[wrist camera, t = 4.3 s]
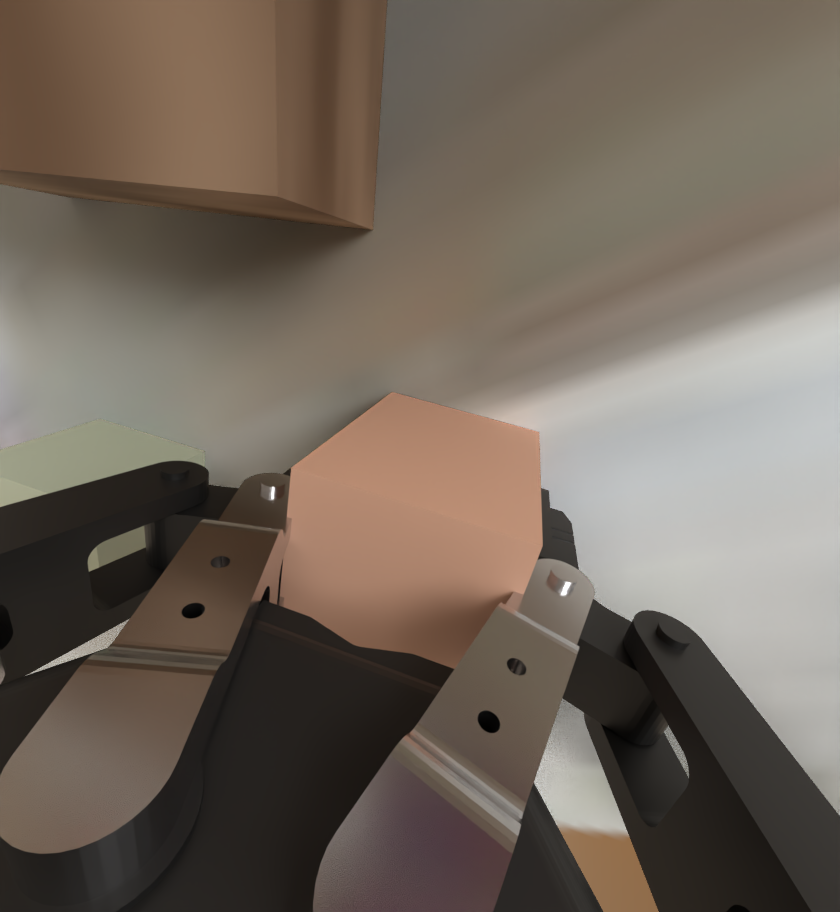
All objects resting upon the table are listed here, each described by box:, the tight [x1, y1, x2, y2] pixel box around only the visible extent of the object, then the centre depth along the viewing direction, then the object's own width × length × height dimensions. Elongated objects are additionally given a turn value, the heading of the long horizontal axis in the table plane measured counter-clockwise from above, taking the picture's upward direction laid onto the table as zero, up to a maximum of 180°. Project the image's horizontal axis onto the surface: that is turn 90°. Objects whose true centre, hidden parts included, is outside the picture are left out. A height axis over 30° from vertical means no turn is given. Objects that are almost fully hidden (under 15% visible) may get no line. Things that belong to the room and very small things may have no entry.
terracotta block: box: [280, 392, 543, 669], centre depth 11 cm, size 4×4×6 cm
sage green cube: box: [0, 419, 205, 572], centre depth 15 cm, size 4×4×4 cm
